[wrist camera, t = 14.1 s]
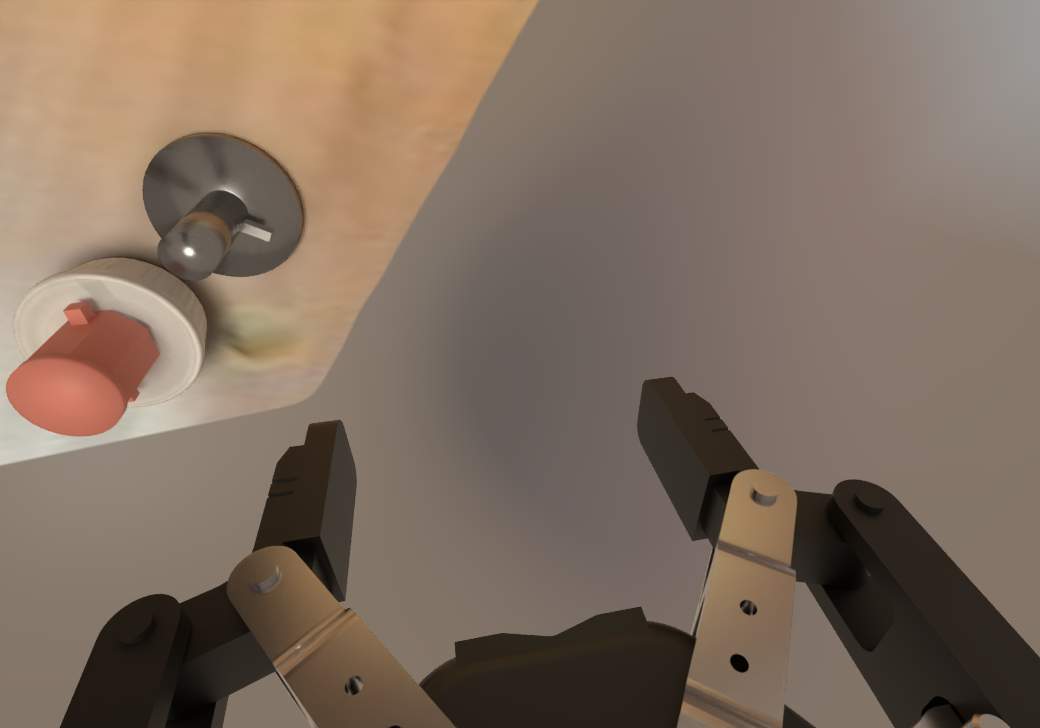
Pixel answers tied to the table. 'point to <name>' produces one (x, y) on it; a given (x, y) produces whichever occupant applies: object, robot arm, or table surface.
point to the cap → (83, 373)
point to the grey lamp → (220, 207)
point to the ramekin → (134, 296)
